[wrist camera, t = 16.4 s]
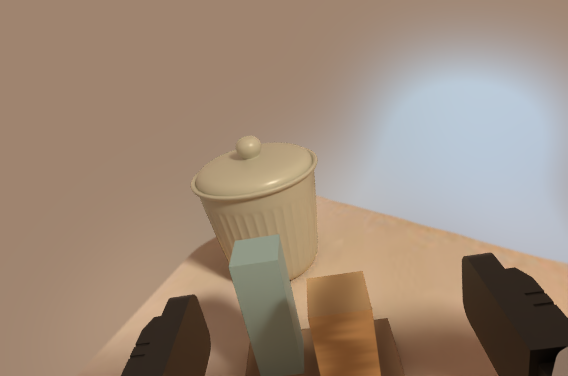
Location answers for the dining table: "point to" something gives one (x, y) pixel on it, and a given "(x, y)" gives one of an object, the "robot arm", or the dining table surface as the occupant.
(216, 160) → the canister
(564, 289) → the dining table surface
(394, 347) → the frame base
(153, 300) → the dining table surface
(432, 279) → the dining table surface
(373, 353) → the oak post
